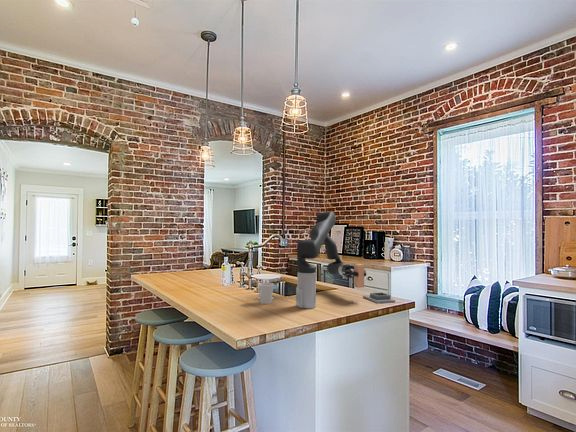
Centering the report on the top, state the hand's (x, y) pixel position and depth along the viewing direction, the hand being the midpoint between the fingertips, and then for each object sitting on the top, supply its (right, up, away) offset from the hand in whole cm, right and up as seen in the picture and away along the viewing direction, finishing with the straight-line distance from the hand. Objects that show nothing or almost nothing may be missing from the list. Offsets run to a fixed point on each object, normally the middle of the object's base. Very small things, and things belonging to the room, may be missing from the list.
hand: (361, 274), depth 178 cm
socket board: (+11, -15, +6) cm, 19 cm away
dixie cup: (-51, -14, -4) cm, 53 cm away
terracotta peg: (-1, -7, +2) cm, 8 cm away
